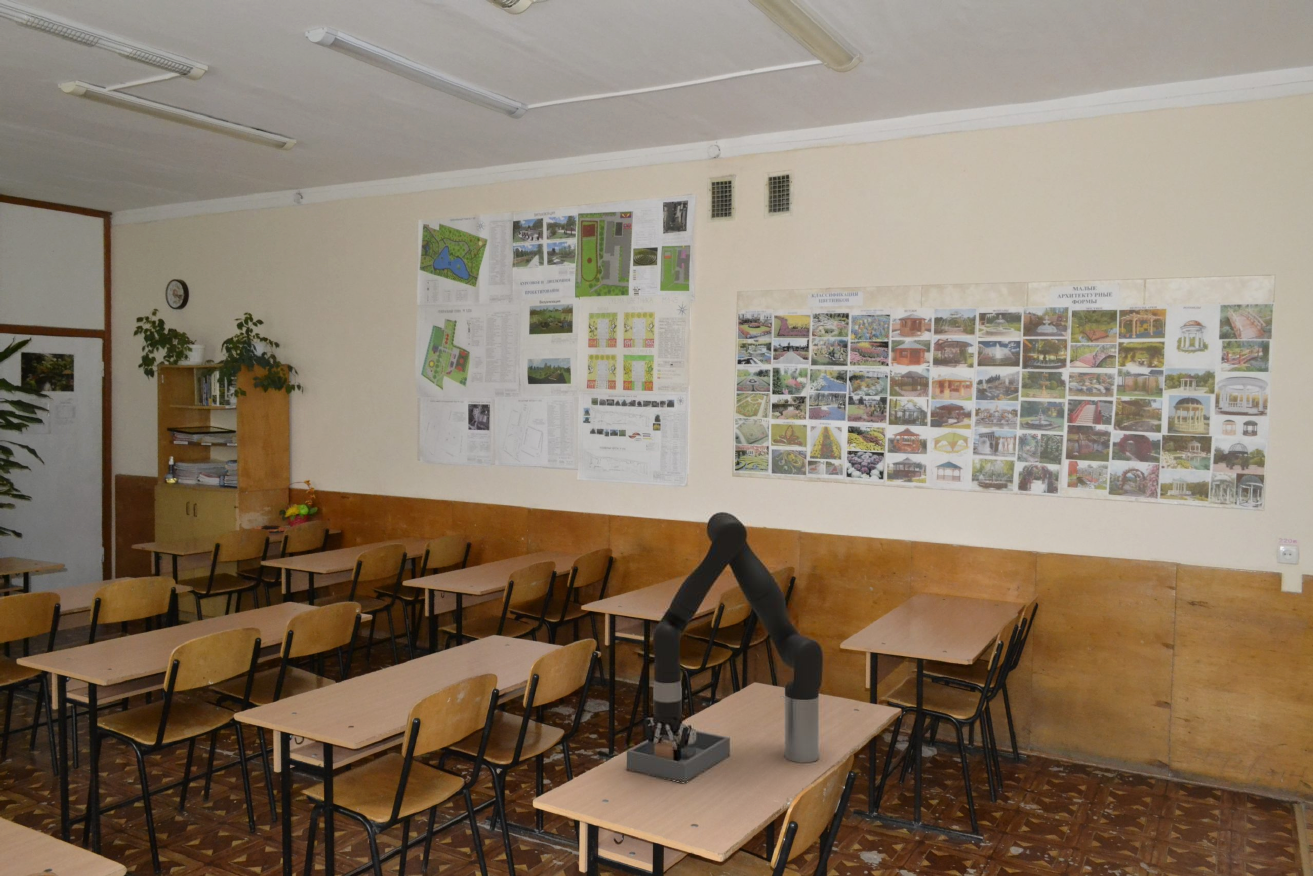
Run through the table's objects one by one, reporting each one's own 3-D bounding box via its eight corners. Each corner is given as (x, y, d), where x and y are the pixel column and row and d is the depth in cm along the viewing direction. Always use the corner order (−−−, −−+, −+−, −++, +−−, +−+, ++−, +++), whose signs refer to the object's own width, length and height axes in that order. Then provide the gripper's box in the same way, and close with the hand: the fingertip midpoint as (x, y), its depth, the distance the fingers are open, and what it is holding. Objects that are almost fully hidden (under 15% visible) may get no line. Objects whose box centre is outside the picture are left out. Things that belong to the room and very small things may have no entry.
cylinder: (684, 751, 263) (684, 726, 263) (699, 755, 260) (699, 729, 260) (674, 757, 259) (674, 731, 258) (690, 760, 256) (690, 735, 256)
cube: (664, 758, 254) (664, 740, 254) (680, 762, 252) (680, 743, 252) (654, 764, 250) (654, 745, 250) (670, 768, 247) (670, 749, 247)
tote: (674, 743, 271) (674, 726, 271) (729, 755, 261) (729, 737, 261) (626, 769, 251) (626, 751, 251) (684, 784, 241) (684, 764, 241)
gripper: (697, 697, 250) (697, 761, 250) (652, 689, 258) (652, 751, 258) (683, 705, 244) (683, 770, 244) (637, 696, 251) (637, 759, 252)
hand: (667, 760), depth 251 cm, fingers closed on cube, 4 cm apart
